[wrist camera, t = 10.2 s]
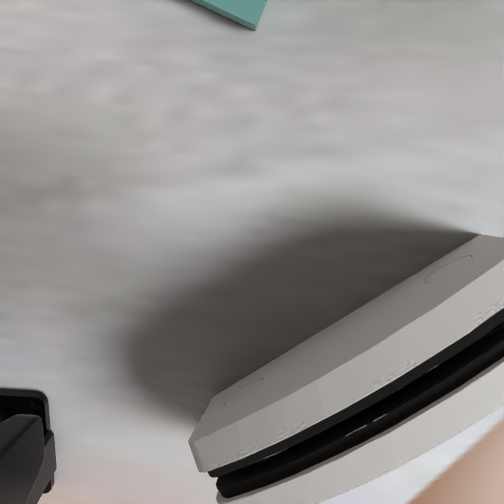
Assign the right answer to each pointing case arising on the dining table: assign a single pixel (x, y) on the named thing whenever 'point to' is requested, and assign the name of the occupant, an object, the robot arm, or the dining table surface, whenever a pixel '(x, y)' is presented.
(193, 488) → the dining table surface
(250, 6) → the well
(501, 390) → the grey curved block
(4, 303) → the dining table surface
